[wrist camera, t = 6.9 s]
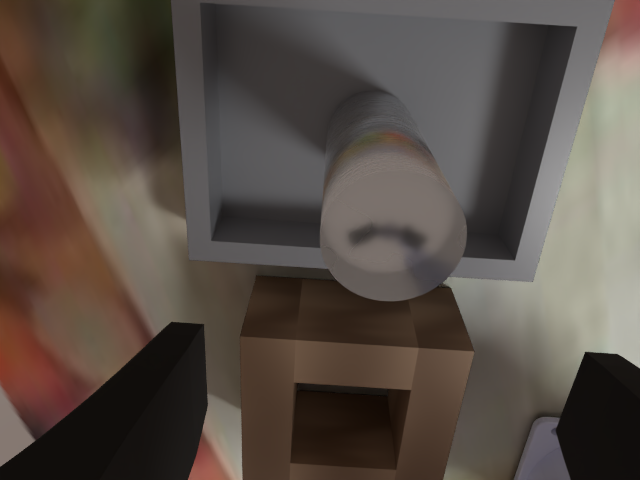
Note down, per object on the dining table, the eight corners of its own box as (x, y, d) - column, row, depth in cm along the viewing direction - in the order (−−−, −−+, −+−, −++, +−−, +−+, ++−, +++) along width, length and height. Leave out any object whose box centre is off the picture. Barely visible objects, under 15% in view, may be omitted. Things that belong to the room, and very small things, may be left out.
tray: (577, -7, 16) (615, -4, 14) (510, 248, 20) (532, 281, 18) (192, -31, 16) (168, -33, 14) (205, 228, 20) (188, 260, 18)
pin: (420, 93, 17) (481, 176, 10) (407, 178, 18) (452, 306, 11) (330, 87, 17) (324, 165, 10) (324, 172, 18) (315, 296, 11)
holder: (450, 288, 21) (474, 351, 17) (422, 428, 25) (436, 504, 21) (256, 275, 21) (240, 336, 17) (256, 417, 25) (243, 491, 21)
